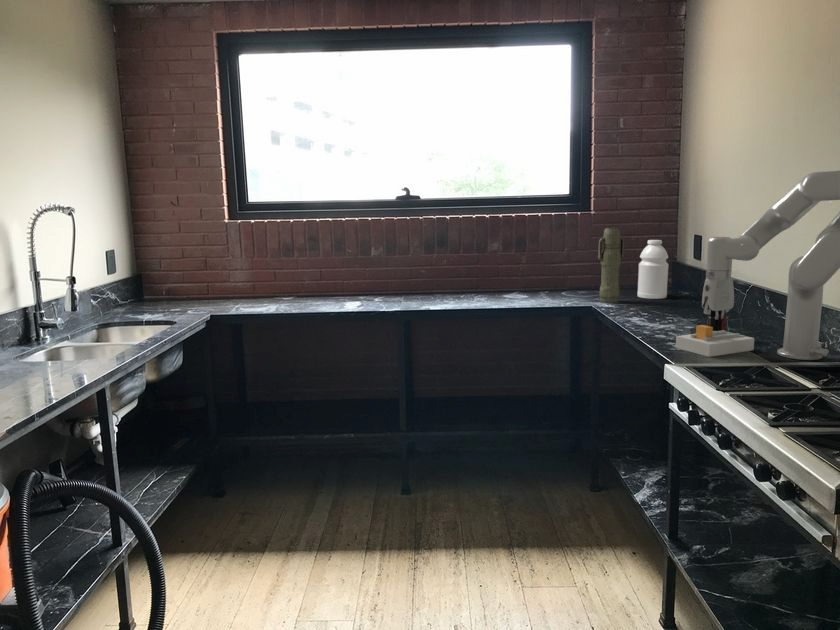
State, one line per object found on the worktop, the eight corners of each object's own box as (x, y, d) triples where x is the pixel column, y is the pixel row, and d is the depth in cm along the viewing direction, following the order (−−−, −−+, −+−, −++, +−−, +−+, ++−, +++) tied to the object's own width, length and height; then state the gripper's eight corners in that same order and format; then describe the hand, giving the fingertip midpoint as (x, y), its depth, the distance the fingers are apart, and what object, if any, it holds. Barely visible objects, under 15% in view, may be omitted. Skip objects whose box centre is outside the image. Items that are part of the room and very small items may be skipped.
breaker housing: (753, 350, 222) (754, 335, 222) (708, 356, 214) (709, 341, 213) (719, 341, 235) (719, 327, 234) (675, 347, 227) (676, 333, 226)
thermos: (593, 300, 325) (595, 227, 318) (615, 299, 327) (618, 227, 321) (602, 303, 316) (605, 228, 310) (624, 302, 319) (628, 227, 313)
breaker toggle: (712, 339, 221) (712, 327, 220) (705, 340, 219) (706, 327, 219) (702, 336, 224) (703, 324, 223) (695, 337, 223) (696, 325, 222)
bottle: (633, 294, 342) (636, 239, 337) (661, 294, 341) (664, 239, 336) (641, 299, 328) (644, 241, 323) (670, 299, 328) (673, 241, 323)
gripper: (711, 277, 213) (708, 334, 217) (744, 274, 220) (741, 329, 223) (692, 275, 220) (690, 330, 223) (725, 272, 226) (722, 326, 230)
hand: (715, 330), depth 223 cm, fingers closed
